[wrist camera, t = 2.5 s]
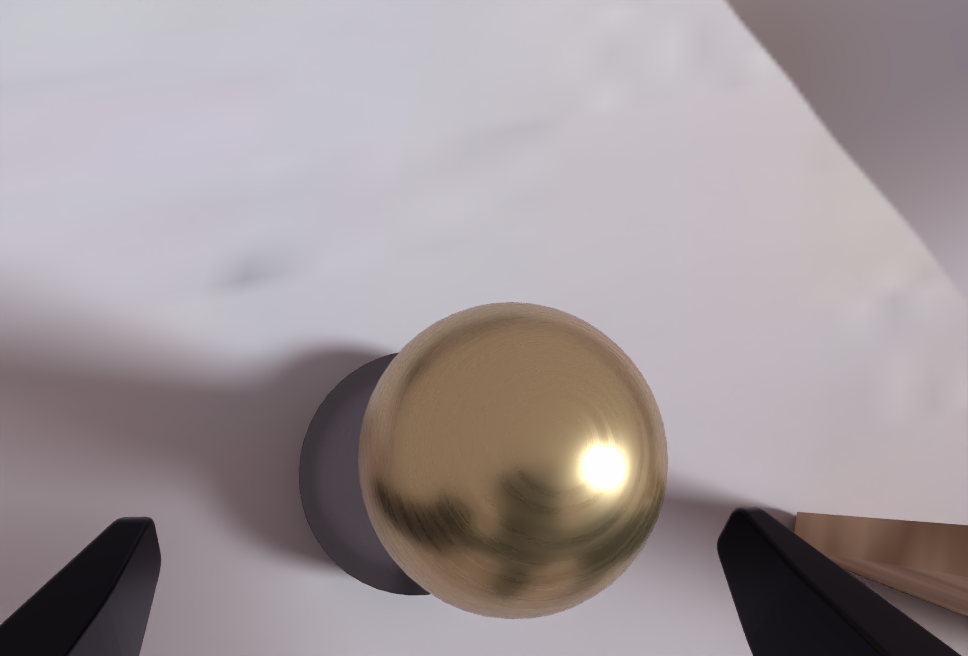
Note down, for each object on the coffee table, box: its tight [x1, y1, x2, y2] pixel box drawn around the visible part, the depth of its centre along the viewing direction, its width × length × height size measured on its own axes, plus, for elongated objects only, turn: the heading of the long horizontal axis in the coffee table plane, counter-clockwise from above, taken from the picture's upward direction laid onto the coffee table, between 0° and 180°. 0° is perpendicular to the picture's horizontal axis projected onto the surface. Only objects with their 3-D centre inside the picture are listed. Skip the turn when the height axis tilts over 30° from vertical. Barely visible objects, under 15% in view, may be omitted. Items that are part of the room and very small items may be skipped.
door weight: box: [299, 302, 668, 619], centre depth 11 cm, size 6×6×13 cm
